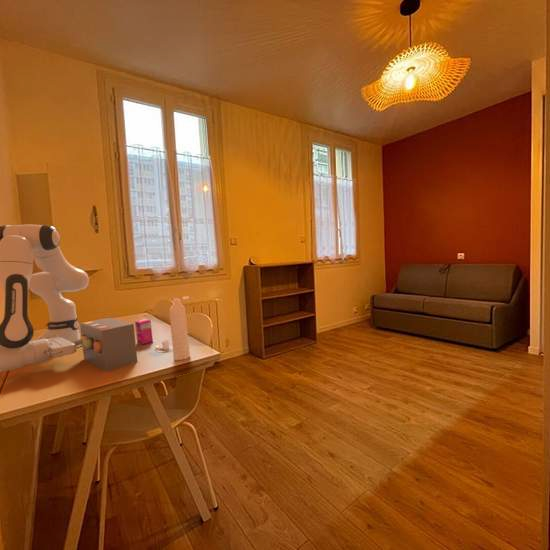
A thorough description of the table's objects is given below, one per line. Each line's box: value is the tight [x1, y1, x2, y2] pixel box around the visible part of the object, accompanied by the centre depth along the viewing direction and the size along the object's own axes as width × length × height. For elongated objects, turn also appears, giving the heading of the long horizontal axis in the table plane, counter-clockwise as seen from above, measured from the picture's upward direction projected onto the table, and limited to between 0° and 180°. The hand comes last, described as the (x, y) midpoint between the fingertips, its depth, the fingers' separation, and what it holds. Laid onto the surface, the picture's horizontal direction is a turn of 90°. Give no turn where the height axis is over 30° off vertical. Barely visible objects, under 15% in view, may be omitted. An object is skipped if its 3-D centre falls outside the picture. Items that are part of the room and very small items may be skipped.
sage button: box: [82, 339, 93, 350], centre depth 125 cm, size 3×4×4 cm
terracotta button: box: [93, 341, 101, 353], centre depth 120 cm, size 3×4×4 cm
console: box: [79, 317, 138, 372], centre depth 130 cm, size 12×26×16 cm, turn 48°
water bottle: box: [169, 296, 191, 361], centre depth 128 cm, size 9×6×25 cm
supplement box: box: [134, 318, 154, 346], centre depth 155 cm, size 6×6×12 cm
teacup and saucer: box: [154, 340, 173, 353], centre depth 143 cm, size 9×8×4 cm
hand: (81, 341), depth 130 cm, fingers closed, pressing on ochre button
